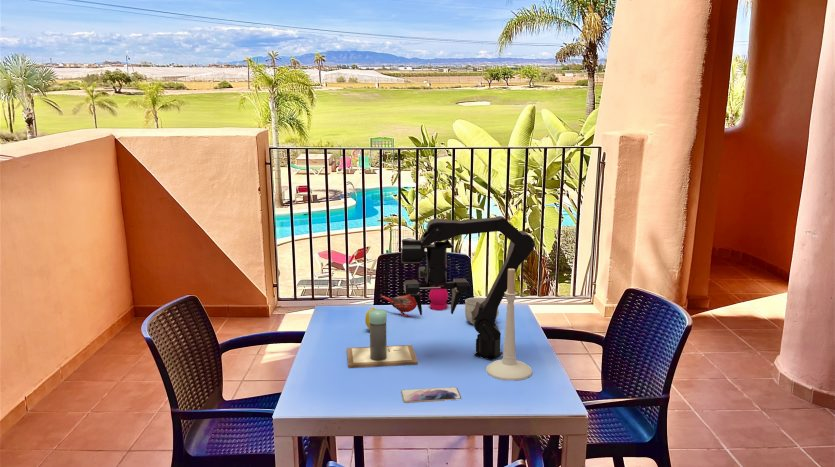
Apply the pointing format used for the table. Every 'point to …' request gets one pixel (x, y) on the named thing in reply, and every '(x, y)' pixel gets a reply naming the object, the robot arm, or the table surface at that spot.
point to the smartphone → (430, 395)
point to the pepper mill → (438, 298)
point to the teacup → (470, 307)
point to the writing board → (394, 358)
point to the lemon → (368, 318)
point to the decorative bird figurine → (403, 303)
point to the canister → (378, 334)
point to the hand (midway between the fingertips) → (436, 314)
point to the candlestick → (509, 343)
